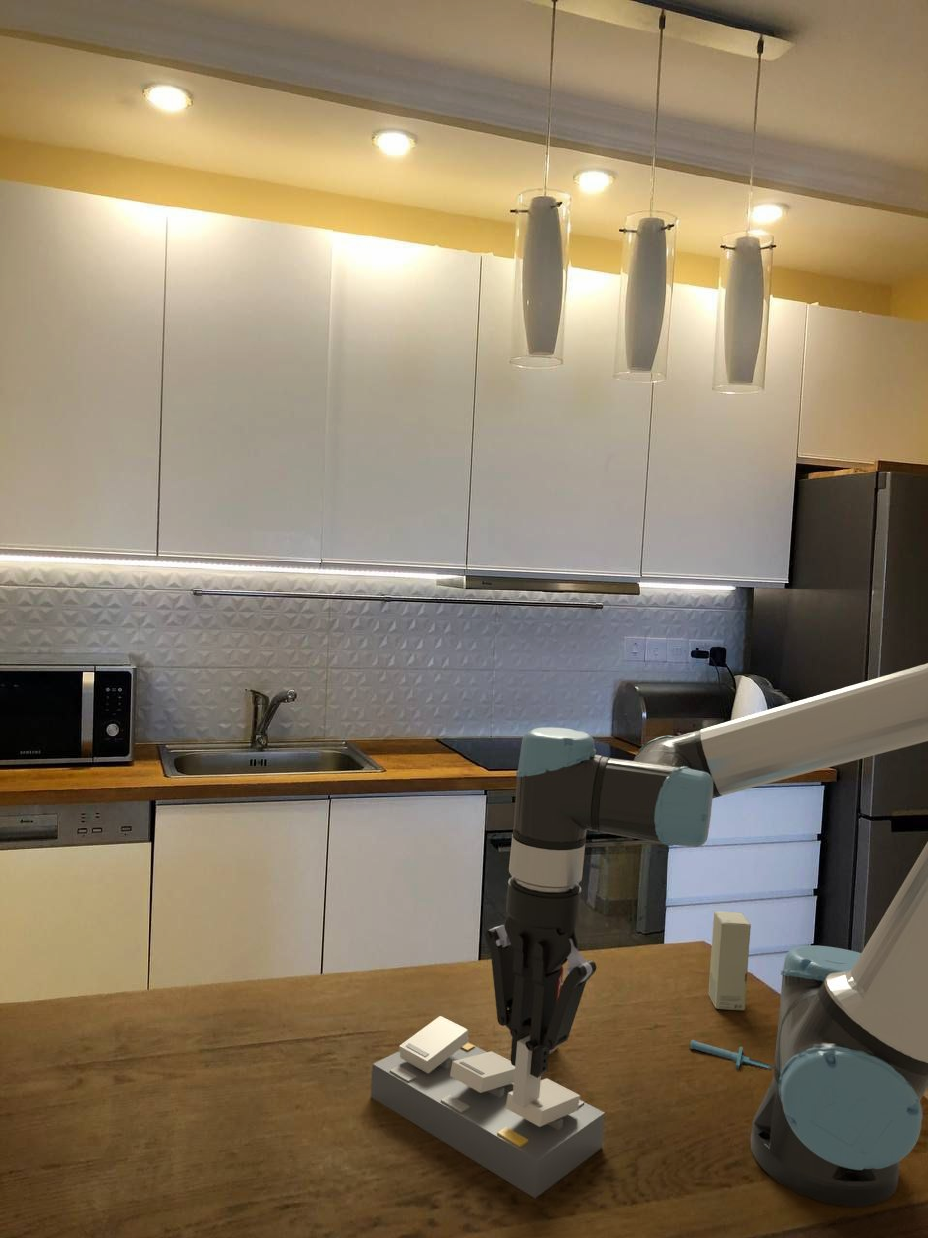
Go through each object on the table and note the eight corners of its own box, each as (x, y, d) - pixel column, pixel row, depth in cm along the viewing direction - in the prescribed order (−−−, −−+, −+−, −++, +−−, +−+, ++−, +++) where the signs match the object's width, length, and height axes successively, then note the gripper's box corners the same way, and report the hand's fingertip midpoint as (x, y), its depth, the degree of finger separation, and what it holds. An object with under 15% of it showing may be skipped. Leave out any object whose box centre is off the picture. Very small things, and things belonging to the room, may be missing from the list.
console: (602, 1148, 106) (605, 1105, 106) (535, 1198, 97) (538, 1152, 97) (441, 1060, 122) (443, 1023, 122) (370, 1097, 113) (373, 1057, 113)
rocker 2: (519, 1081, 110) (522, 1066, 110) (480, 1093, 105) (483, 1077, 105) (488, 1065, 113) (491, 1050, 113) (449, 1076, 108) (452, 1060, 108)
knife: (828, 1070, 125) (828, 1090, 121) (827, 1079, 125) (827, 1099, 121) (693, 1032, 131) (688, 1049, 127) (692, 1040, 131) (687, 1058, 127)
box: (745, 1012, 140) (753, 925, 139) (714, 1010, 140) (722, 923, 139) (735, 995, 146) (743, 911, 145) (706, 993, 146) (713, 909, 145)
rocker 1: (468, 1041, 116) (467, 1029, 115) (428, 1073, 111) (427, 1060, 110) (441, 1027, 119) (440, 1015, 118) (400, 1058, 114) (399, 1045, 113)
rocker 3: (577, 1110, 105) (580, 1094, 105) (539, 1127, 100) (542, 1110, 100) (544, 1093, 108) (546, 1077, 108) (505, 1108, 103) (508, 1092, 103)
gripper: (619, 890, 99) (598, 1114, 100) (518, 856, 107) (500, 1062, 109) (576, 907, 93) (554, 1143, 95) (473, 869, 102) (455, 1086, 103)
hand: (525, 1099), depth 102 cm, fingers closed
